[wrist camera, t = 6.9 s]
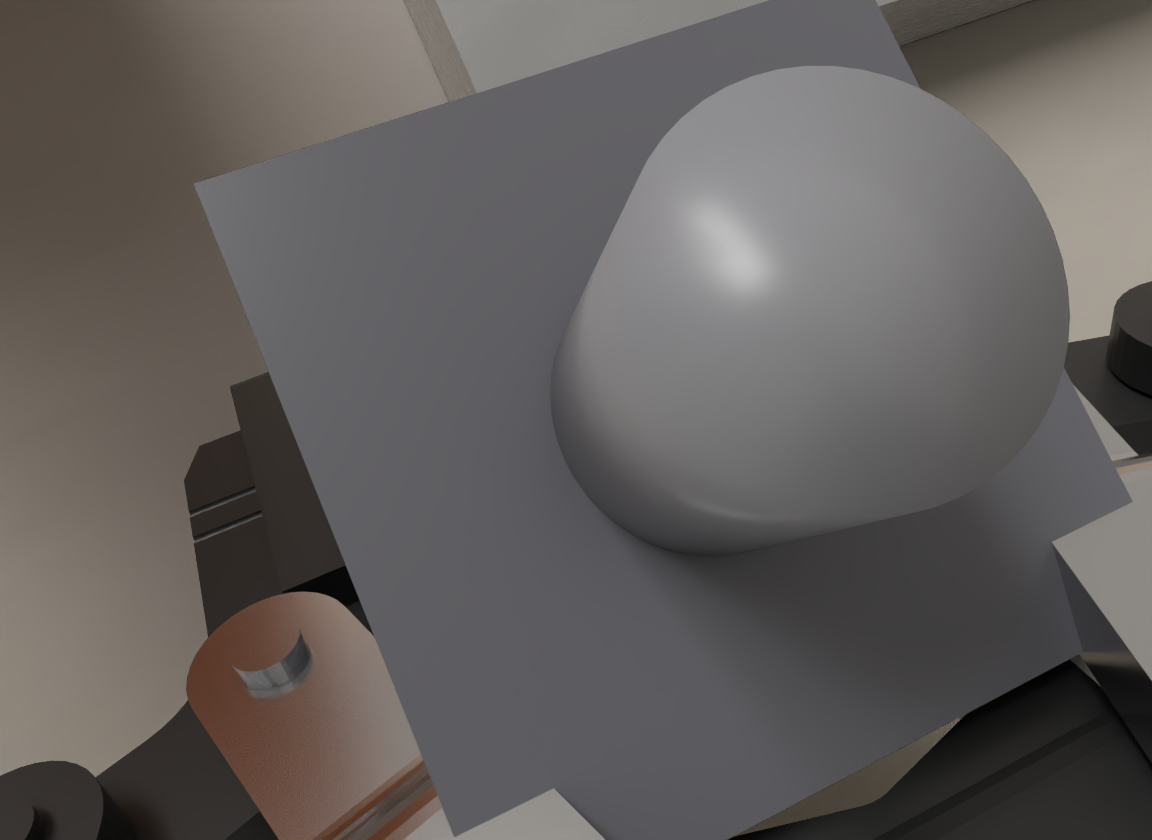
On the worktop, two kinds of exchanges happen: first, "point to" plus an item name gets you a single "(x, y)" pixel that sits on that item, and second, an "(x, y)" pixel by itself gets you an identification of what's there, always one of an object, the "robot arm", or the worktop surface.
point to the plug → (680, 415)
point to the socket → (605, 30)
